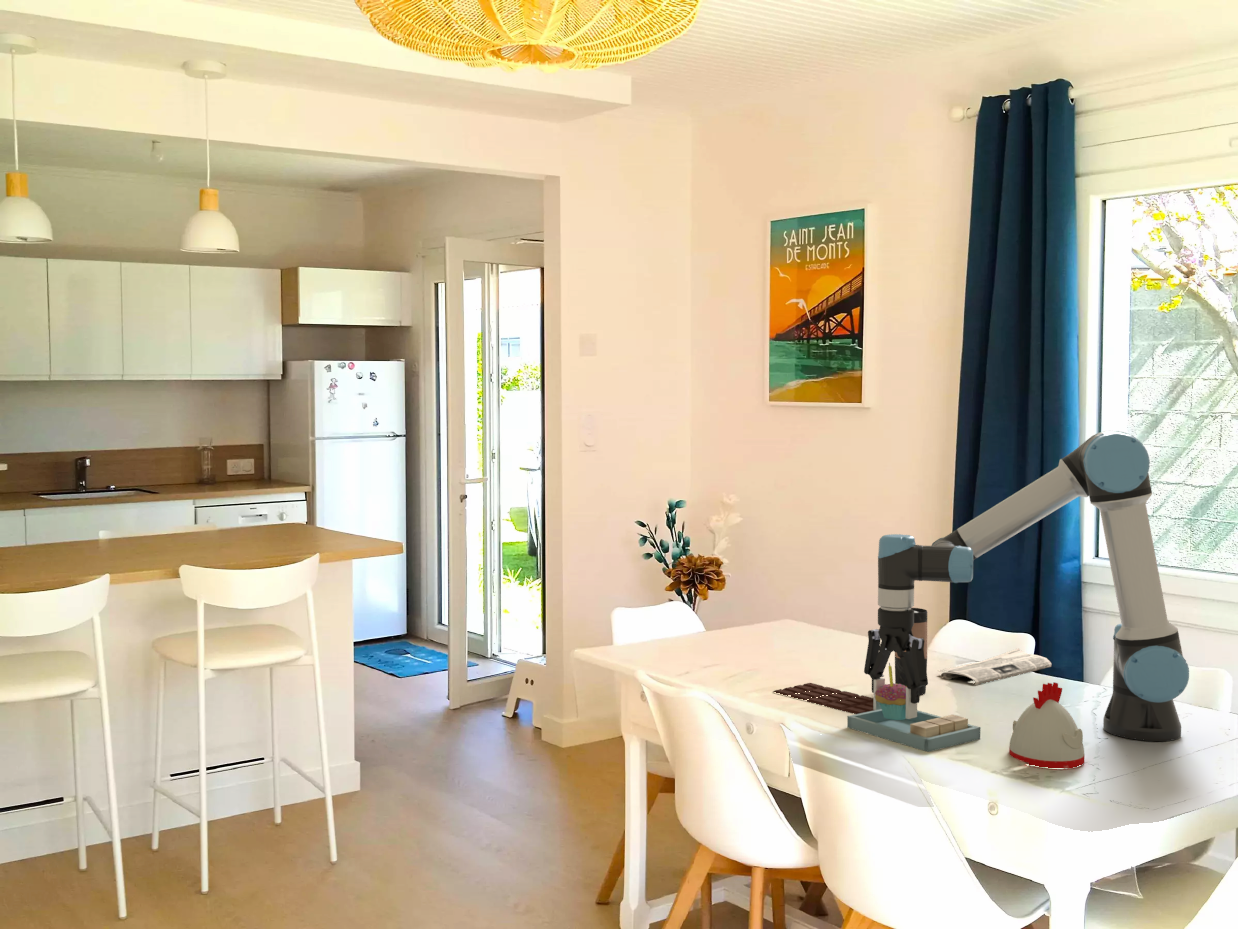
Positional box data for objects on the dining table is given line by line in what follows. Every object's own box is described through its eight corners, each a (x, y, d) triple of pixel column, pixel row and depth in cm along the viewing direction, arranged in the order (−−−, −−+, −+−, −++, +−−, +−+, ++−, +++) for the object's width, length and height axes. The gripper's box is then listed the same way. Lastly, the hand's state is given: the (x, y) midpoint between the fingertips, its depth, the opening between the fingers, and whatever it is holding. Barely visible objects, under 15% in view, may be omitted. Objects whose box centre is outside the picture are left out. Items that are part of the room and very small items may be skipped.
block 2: (953, 741, 243) (953, 722, 243) (940, 744, 241) (940, 725, 240) (937, 736, 246) (938, 717, 246) (924, 740, 244) (925, 720, 244)
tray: (980, 741, 245) (980, 727, 245) (928, 754, 236) (928, 739, 236) (898, 718, 263) (898, 705, 263) (847, 730, 254) (847, 716, 254)
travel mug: (927, 696, 283) (928, 613, 282) (894, 695, 284) (895, 612, 283) (926, 689, 290) (926, 608, 289) (893, 687, 292) (894, 607, 291)
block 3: (967, 737, 246) (967, 718, 245) (954, 740, 243) (955, 721, 243) (952, 733, 249) (952, 714, 249) (939, 736, 247) (939, 717, 246)
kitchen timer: (1098, 761, 231) (1100, 685, 231) (1056, 774, 223) (1057, 695, 223) (1037, 745, 243) (1038, 672, 242) (994, 756, 235) (995, 681, 234)
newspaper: (975, 687, 294) (975, 673, 294) (933, 678, 304) (934, 664, 304) (1054, 668, 316) (1054, 654, 316) (1013, 660, 326) (1013, 647, 326)
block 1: (938, 745, 240) (938, 725, 240) (925, 748, 238) (925, 728, 238) (923, 740, 244) (923, 721, 243) (910, 743, 241) (910, 724, 241)
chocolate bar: (771, 694, 287) (771, 690, 287) (809, 686, 295) (809, 682, 295) (859, 717, 266) (859, 712, 266) (897, 707, 274) (897, 703, 274)
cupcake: (899, 724, 247) (899, 667, 247) (866, 716, 254) (866, 661, 253) (923, 717, 253) (924, 661, 252) (890, 709, 259) (890, 655, 259)
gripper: (947, 612, 246) (946, 721, 247) (871, 599, 263) (870, 700, 264) (922, 616, 241) (921, 726, 242) (847, 602, 259) (846, 705, 260)
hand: (895, 713), depth 253 cm, fingers closed on cupcake, 8 cm apart
